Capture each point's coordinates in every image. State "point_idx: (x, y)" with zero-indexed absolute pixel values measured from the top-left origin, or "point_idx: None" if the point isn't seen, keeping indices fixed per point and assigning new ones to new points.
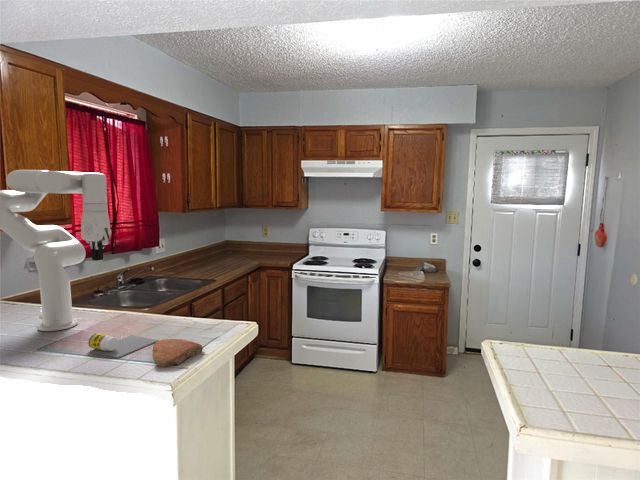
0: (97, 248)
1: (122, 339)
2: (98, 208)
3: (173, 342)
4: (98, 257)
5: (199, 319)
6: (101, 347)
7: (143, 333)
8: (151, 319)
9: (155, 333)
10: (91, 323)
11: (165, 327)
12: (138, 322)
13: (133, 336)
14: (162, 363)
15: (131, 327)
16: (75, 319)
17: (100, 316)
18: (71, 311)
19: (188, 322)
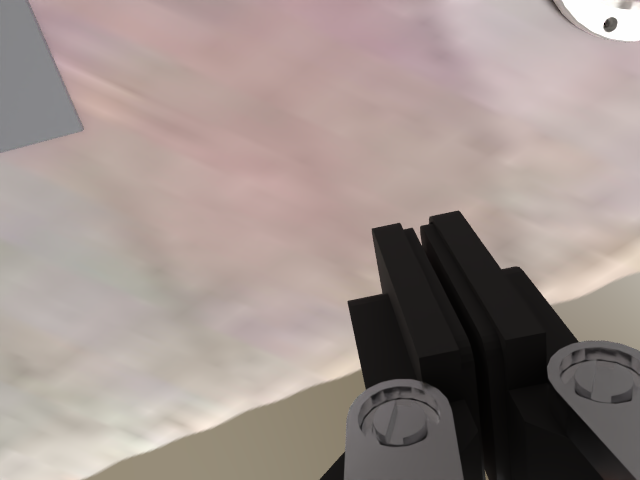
0: (351, 426)
1: (36, 60)
2: None
3: None
4: (349, 302)
5: (108, 455)
6: None
7: (87, 193)
8: (298, 324)
9: (39, 232)
10: (514, 89)
11: (104, 307)
12: (303, 262)
13: (47, 126)
14: None
15: (246, 200)
16: (630, 37)
17: (595, 182)
18: (636, 1)
19: (100, 406)
